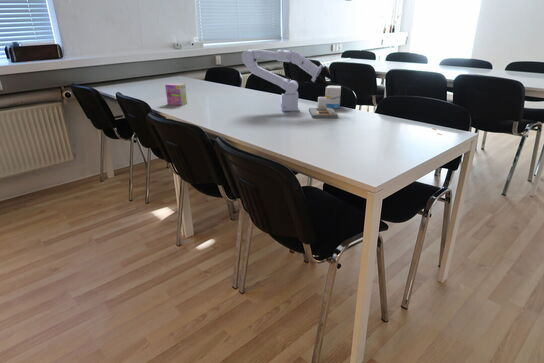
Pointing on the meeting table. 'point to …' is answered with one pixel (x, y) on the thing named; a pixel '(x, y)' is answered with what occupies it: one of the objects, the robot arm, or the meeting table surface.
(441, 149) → the meeting table surface
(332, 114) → the socket board
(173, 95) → the box
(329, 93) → the ink box
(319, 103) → the steel peg
